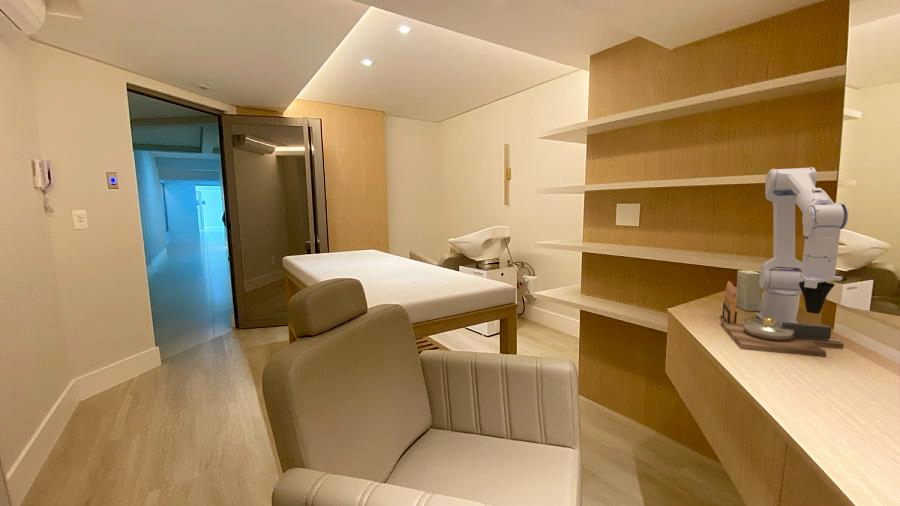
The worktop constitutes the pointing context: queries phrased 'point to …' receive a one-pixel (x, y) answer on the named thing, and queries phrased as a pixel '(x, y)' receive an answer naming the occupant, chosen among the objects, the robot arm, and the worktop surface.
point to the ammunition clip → (730, 304)
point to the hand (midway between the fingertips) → (813, 312)
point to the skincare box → (748, 290)
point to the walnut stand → (780, 342)
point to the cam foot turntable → (785, 329)
